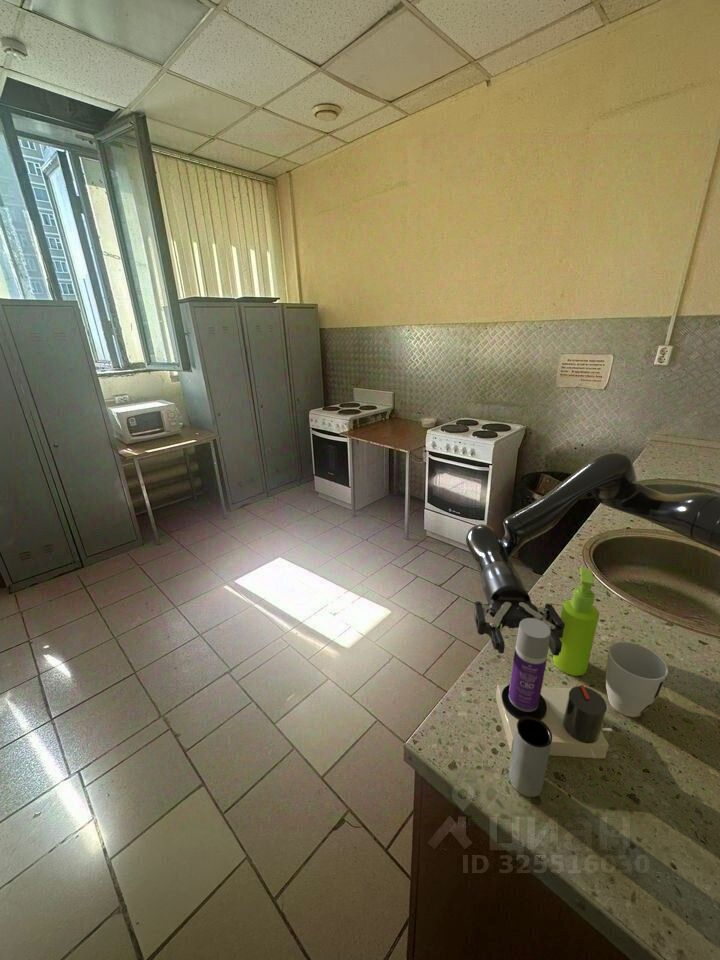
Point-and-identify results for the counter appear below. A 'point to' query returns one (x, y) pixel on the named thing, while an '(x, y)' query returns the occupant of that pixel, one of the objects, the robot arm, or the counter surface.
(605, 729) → the hob
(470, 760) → the counter surface
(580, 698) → the knob
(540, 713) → the hotplate
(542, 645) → the container
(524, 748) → the planter
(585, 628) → the soap dispenser
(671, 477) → the counter surface
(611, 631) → the counter surface
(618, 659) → the cup
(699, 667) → the counter surface
